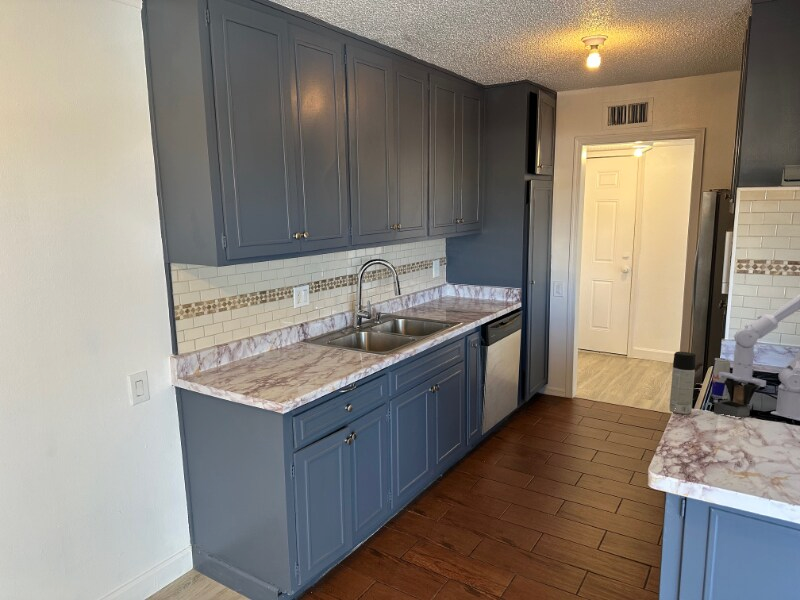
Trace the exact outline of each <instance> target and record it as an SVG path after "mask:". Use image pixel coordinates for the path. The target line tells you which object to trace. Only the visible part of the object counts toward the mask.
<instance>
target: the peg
mask: <svg viewBox="0 0 800 600" xmlns="http://www.w3.org/2000/svg"><path fill="white" fill-rule="evenodd" d="M744 397H745V390H744V385H740V384H738V385H735V386H734V395H733V402H737V403H741V404H744Z"/></svg>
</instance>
